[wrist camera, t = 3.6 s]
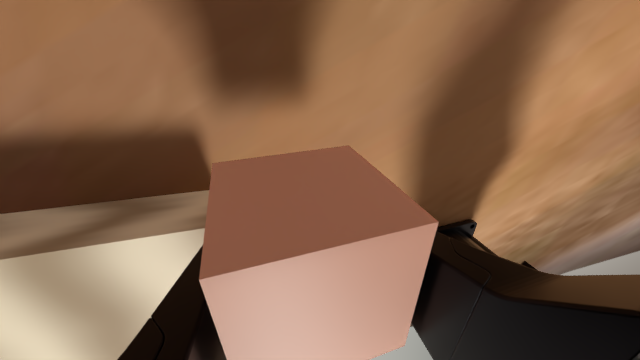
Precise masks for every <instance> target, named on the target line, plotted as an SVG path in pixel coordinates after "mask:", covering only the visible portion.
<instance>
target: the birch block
mask: <svg viewBox="0 0 640 360" xmlns="http://www.w3.org/2000/svg"><path fill="white" fill-rule="evenodd" d="M208 198H209V190H205V191H197V192H188V193H179V194H171V195H162V196H153V197H145V198H136V199H127V200H119V201H110V202H101V203H93V204H84V205H75V206H67V207H58V208H49V209H41V210H32V211H23V212H15V213H6V214H0V360H117V359H118V358H119V357H120V355H121V354H122V353H123V352H124V351H125V349H126V348H127V347H128V345H129V344H130V343H131V342H132V340H133V339H134V338H135V336H136V335H137V334H138V332H139V331H140V330H141V328H142V327H143V326H144V324H145V323H146V322H147V320H148V319H149V318H151V315H152V314H153V312H154V311H155V309H156V308H157V307H158V305H159V304H160V303H161V301H162V300H163V299H164V297H165V296H166V294H167V293H168V292H169V290H170V289H171V288H172V286H173V285H174V283H175V282H176V281H177V279H178V278H179V277H180V275H181V274H182V273H183V271H184V270H185V268H186V267H187V266H188V264H189V263H190V262H191V260H192V259H193V258H194V256H195V255H196V253H197V252H198V251H199V249H200V248H201V247H202V245H203V241H204V232H205V224H206V215H207V206H208Z"/></svg>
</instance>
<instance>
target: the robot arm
mask: <svg viewBox="0 0 640 360" xmlns="http://www.w3.org/2000/svg"><path fill="white" fill-rule="evenodd" d="M476 225H477V223H476V222H475V221H473V220H467V221H463V222H459V223H455V224H451V225H447V226H443V227H439V228H437V230H436V234H435V237H434V241H433V245H432V248H431V252H430V256H429V259H428V263H427V266H426V270H425V274H424V277H423V281H422V285H421V288H420V292H419V295H418V299H417V303H416V306H415V310H414V314H413V317H412V321H411V323H412V325H413V327H414V328H415V330H416V332H417V333H418V335H419V337H420V338H421V340H422V342H423V343H424V345H425V347H426V348H427V350H428V351H429V353H430V355H431V356H432V358H433V360H640V275H588V276H563V275H554V274H548V273H544V272H541V271H538V270H537V269H535V268H534V267H532V266H531V265H530V264H528V263H527V262H526V261H523V262H522V263H521V264H518V263H515V262H512V261H510V260H507V259H504V258H501V257H499V256H497V255H496V254H495V253H493V252H492V251H491V250H490V249H488V248H487V247H486V246H484V245H483V244H482V243H481V242H479V241H478V240H477V239H476V238H474V237H473V234H474V231H475V228H476ZM202 250H203V245H202V247H201V248H200V249H199V251H198V252H197V253H196V255H195V256H194V258H193V259H192V260H191V262H190V263H189V264H188V266H187V267H186V268H185V270H184V271H183V273H182V274H181V275H180V277H179V278H178V279H177V281H176V282H175V283H174V285H173V286H172V288H171V289H170V290H169V292H168V293H167V294H166V296H165V297H164V299H163V300H162V301H161V303H160V304H159V305H158V307H157V308H156V309H155V311H154V312H153V314H152V315H151V318H149V319H148V320H147V322H146V323H145V324H144V326H143V327H142V328H141V330H140V331H139V332H138V334H137V335H136V336H135V338H134V339H133V340H132V342H131V343H130V344H129V345H128V347H127V348H126V349H125V351H124V352H123V353H122V354H121V355H120V357H119V358H118V359H117V360H227V359H226V356H225V353H224V350H223V347H222V344H221V341H220V339H219V336H218V333H217V330H216V327H215V324H214V321H213V319H212V316H211V313H210V310H209V307H208V304H207V301H206V299H205V296H204V293H203V290H202V287H201V284H200V282H199V275H200V267H201V258H202Z"/></svg>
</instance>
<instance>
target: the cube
mask: <svg viewBox="0 0 640 360" xmlns="http://www.w3.org/2000/svg"><path fill="white" fill-rule="evenodd" d="M438 223H439V222H438V221H437V220H436V219H435V218H434V217H432V216H431V215H430V214H429V213H428V212H427V211H425V210H424V209H423V208H422V207H421V206H419V205H418V204H417V203H416V202H415V201H414V200H412V199H411V198H410V197H409V196H408V195H407V194H405V193H404V192H403V191H402V190H401V189H399V188H398V187H397V186H396V185H395V184H394V183H392V182H391V181H390V180H389V179H388V178H387V177H385V176H384V175H383V174H382V173H381V172H379V171H378V170H377V169H376V168H375V167H374V166H372V165H371V164H370V163H369V162H368V161H367V160H365V159H364V158H363V157H362V156H361V155H359V154H358V153H357V152H356V151H355V150H354V149H352V148H351V147H350V146H342V147H334V148H326V149H318V150H311V151H303V152H295V153H288V154H280V155H272V156H265V157H257V158H249V159H241V160H234V161H226V162H218V163H212V172H211V180H210V189H209V198H208V206H207V215H206V224H205V232H204V241H203V250H202V258H201V267H200V275H199V282H200V284H201V287H202V290H203V293H204V296H205V299H206V301H207V304H208V307H209V310H210V313H211V316H212V319H213V321H214V324H215V327H216V330H217V333H218V336H219V339H220V341H221V344H222V347H223V350H224V353H225V356H226V359H227V360H369V359H371V358H374V357H377V356H380V355H382V354H385V353H387V352H390V351H393V350H395V349H398V348H400V347H403V346H405V343H406V339H407V335H408V332H409V328H410V325H411V321H412V317H413V314H414V310H415V306H416V303H417V299H418V295H419V292H420V288H421V285H422V281H423V277H424V274H425V270H426V266H427V263H428V259H429V256H430V252H431V248H432V245H433V241H434V237H435V234H436V230H437V227H438Z"/></svg>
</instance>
